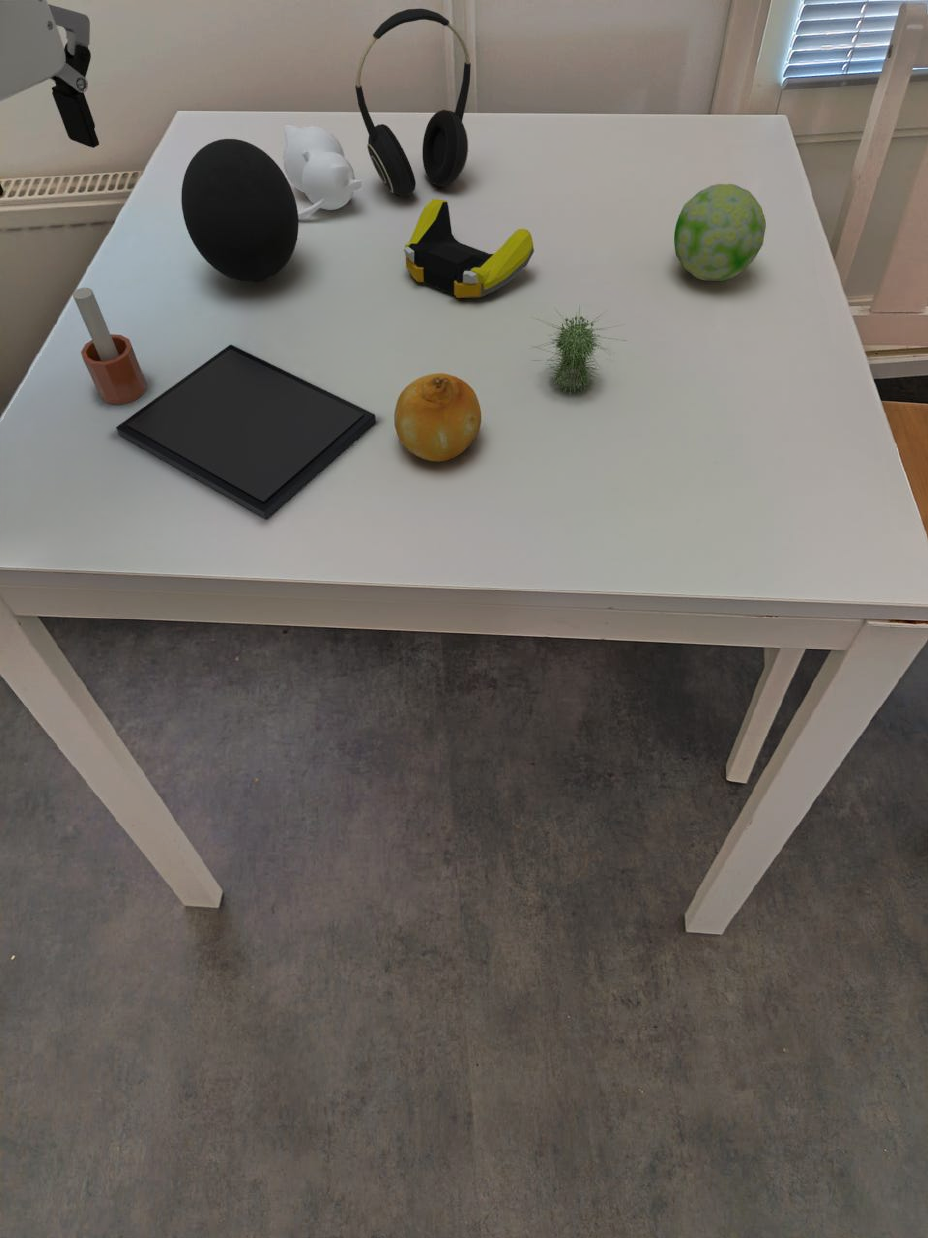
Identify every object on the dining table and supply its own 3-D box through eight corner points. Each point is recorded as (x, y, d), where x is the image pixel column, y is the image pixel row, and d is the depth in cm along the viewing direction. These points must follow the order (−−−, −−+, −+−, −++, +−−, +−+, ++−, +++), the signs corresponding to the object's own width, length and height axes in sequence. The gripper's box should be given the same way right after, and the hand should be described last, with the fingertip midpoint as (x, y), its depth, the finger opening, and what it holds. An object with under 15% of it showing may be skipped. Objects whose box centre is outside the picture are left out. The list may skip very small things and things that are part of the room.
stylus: (120, 393, 87) (81, 300, 78) (109, 386, 87) (68, 294, 79) (134, 384, 88) (96, 291, 79) (122, 377, 88) (83, 285, 80)
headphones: (356, 185, 112) (335, 8, 95) (457, 160, 115) (454, -14, 99) (379, 216, 107) (362, 35, 91) (484, 189, 111) (486, 11, 94)
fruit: (470, 470, 77) (471, 379, 74) (385, 466, 78) (381, 377, 75) (486, 452, 84) (487, 369, 81) (407, 448, 86) (405, 367, 83)
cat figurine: (339, 141, 99) (303, 97, 105) (276, 207, 102) (244, 160, 108) (381, 192, 106) (345, 149, 112) (321, 253, 109) (289, 207, 115)
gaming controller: (435, 234, 104) (385, 273, 100) (433, 190, 100) (381, 228, 95) (538, 273, 99) (490, 315, 94) (541, 228, 95) (491, 270, 90)
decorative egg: (329, 266, 101) (308, 133, 89) (260, 318, 95) (228, 185, 83) (251, 235, 105) (221, 105, 93) (180, 284, 99) (138, 152, 87)
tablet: (266, 519, 77) (263, 510, 76) (118, 435, 84) (114, 425, 83) (376, 422, 84) (375, 412, 83) (232, 351, 91) (229, 342, 90)
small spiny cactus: (636, 421, 84) (649, 358, 78) (516, 424, 84) (519, 361, 78) (621, 346, 91) (632, 283, 85) (510, 349, 91) (512, 286, 85)
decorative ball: (769, 283, 97) (796, 197, 89) (699, 308, 95) (719, 222, 87) (717, 242, 102) (737, 157, 94) (648, 264, 100) (663, 179, 92)
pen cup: (121, 410, 86) (103, 370, 82) (90, 393, 88) (71, 352, 84) (156, 385, 88) (141, 344, 84) (125, 368, 90) (108, 328, 86)
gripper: (1, -140, 61) (90, 114, 75) (-228, -73, 53) (-81, 199, 66) (71, -124, 58) (149, 136, 72) (-160, -51, 50) (-21, 227, 64)
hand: (38, 166), depth 69 cm, fingers open, 9 cm apart
